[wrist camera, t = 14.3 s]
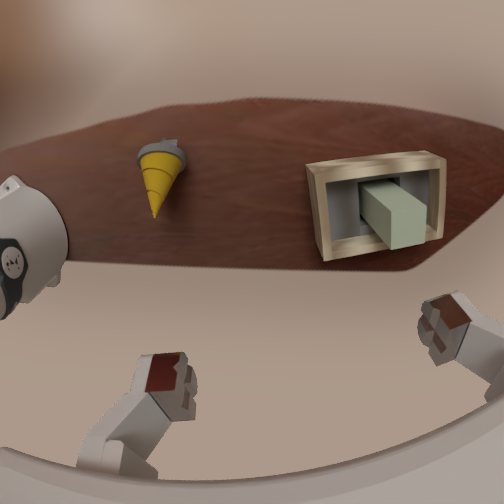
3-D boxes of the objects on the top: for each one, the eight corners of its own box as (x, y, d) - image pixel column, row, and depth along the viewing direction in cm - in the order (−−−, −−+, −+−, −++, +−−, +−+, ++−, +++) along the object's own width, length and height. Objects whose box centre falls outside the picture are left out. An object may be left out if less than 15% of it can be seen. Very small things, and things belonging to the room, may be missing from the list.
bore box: (315, 241, 37) (323, 261, 33) (305, 164, 33) (314, 174, 28) (424, 221, 36) (442, 237, 32) (424, 150, 31) (446, 159, 27)
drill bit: (198, 137, 32) (192, 218, 29) (167, 154, 35) (159, 230, 32) (163, 115, 27) (149, 202, 25) (133, 136, 30) (118, 217, 28)
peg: (358, 212, 36) (390, 249, 27) (356, 181, 34) (391, 211, 25) (386, 207, 35) (424, 243, 26) (385, 177, 33) (426, 206, 25)
